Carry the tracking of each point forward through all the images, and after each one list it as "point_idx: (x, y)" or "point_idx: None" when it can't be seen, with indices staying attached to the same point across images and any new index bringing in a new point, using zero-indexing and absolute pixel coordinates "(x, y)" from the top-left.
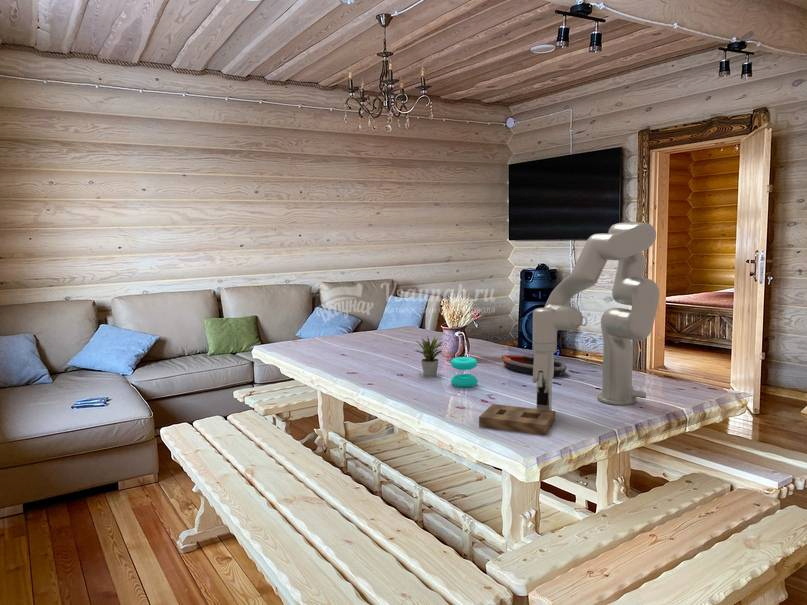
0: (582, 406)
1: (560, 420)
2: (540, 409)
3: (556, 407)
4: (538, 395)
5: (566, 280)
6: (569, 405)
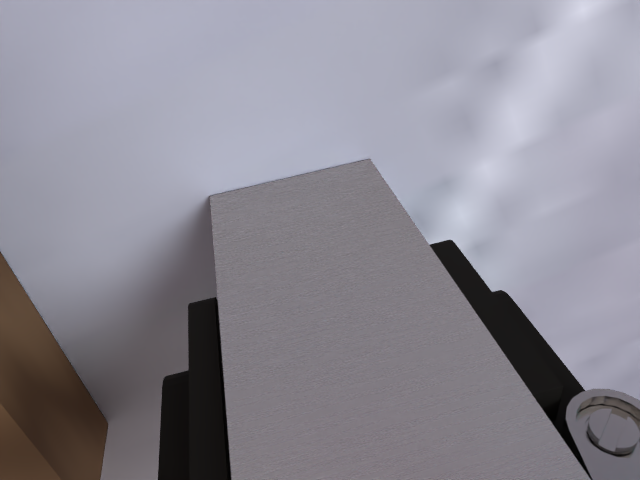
0: (597, 387)
1: (144, 444)
2: (1, 416)
3: (517, 264)
4: (198, 438)
5: None
6: (606, 317)
